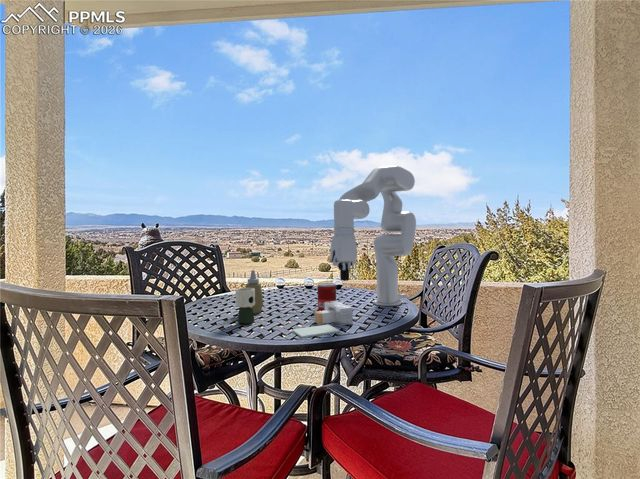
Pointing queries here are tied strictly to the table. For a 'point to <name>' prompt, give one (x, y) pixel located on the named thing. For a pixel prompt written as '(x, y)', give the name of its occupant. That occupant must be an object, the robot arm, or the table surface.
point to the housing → (341, 312)
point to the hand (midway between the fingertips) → (344, 280)
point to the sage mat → (315, 331)
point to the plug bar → (325, 316)
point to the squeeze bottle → (256, 292)
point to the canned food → (326, 294)
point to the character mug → (245, 304)
